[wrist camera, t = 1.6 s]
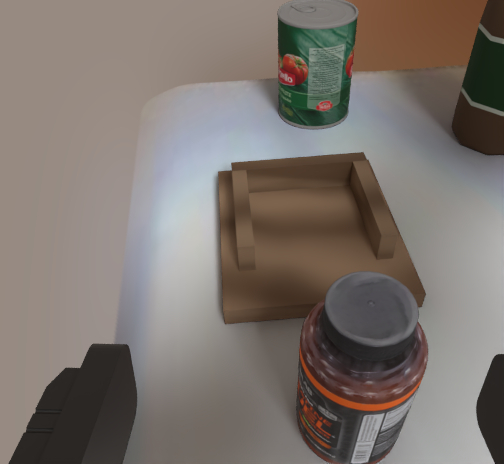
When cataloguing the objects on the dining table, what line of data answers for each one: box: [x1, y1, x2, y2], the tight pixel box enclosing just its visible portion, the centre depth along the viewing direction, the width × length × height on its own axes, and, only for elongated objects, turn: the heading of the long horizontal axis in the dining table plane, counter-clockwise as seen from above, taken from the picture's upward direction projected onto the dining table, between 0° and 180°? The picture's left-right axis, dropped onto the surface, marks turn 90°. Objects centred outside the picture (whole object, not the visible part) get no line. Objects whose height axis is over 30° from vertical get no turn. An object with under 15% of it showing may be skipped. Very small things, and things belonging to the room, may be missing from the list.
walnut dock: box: [218, 152, 426, 324], centre depth 38 cm, size 16×14×4 cm
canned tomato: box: [277, 0, 358, 129], centre depth 50 cm, size 8×8×11 cm
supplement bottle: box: [296, 271, 428, 464], centre depth 24 cm, size 6×6×11 cm
